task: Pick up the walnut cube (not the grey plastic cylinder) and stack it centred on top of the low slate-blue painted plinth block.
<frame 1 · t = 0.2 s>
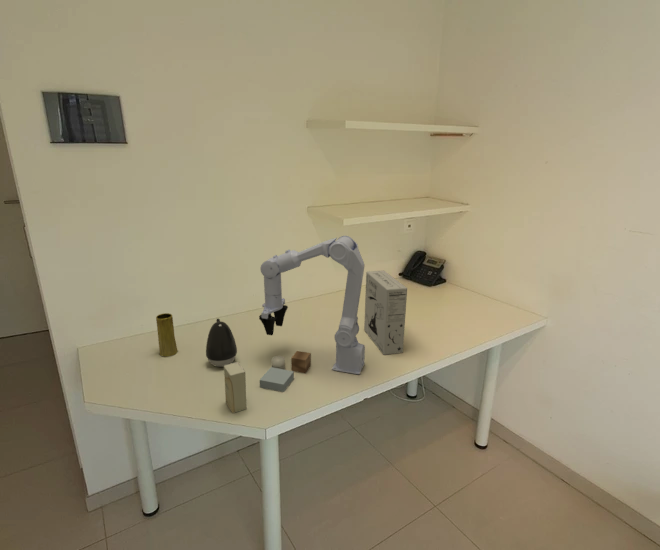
hand: (274, 330, 141), 10 cm above the table, fingers open, 7 cm apart
black egg shape: (222, 363, 139), on the table
skincare box: (236, 406, 116), on the table
grey cylinder: (278, 369, 135), on the table
slate plinth: (277, 383, 128), on the table
product box: (382, 341, 156), on the table
vase: (168, 353, 146), on the table
walnut cube: (301, 368, 136), on the table
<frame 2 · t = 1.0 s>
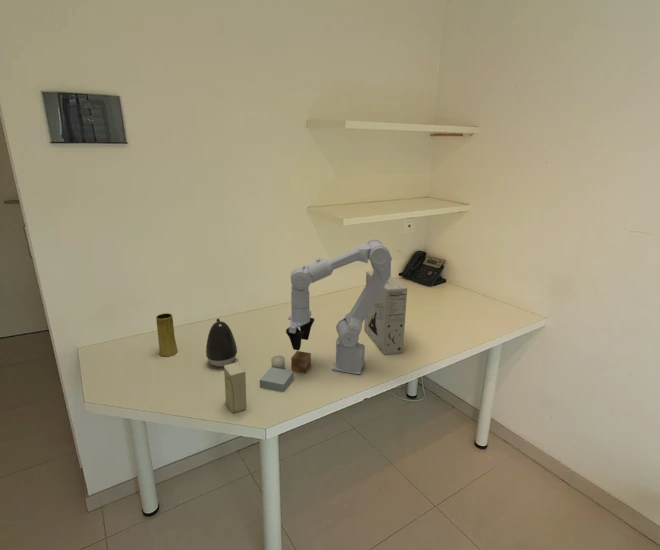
hand: (300, 344, 133), 9 cm above the table, fingers open, 7 cm apart
nothing on the table moved.
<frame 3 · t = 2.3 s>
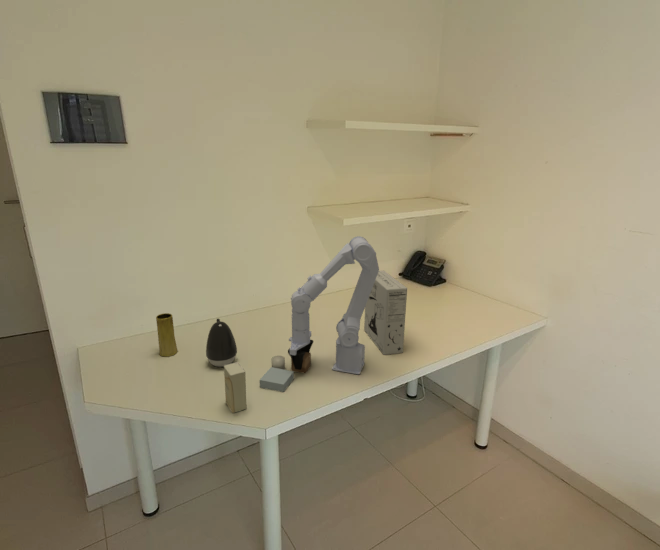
hand: (301, 364, 136), 1 cm above the table, fingers closed on walnut cube, 5 cm apart
walnut cube: (301, 368, 136), on the table, touching gripper
everything else where it was.
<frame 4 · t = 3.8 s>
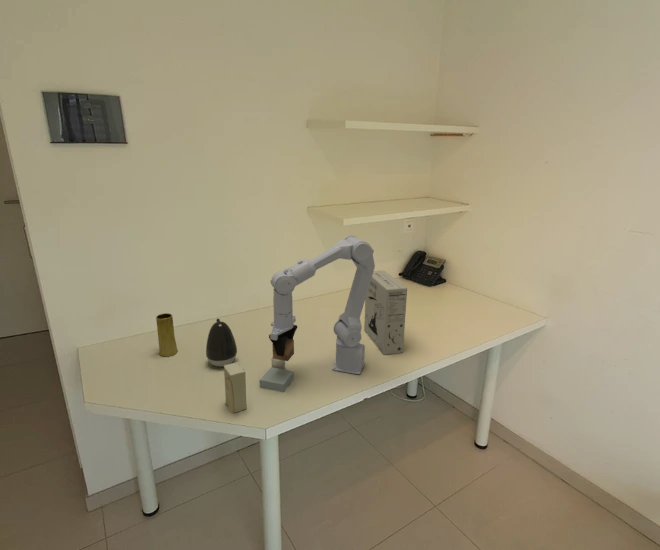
hand: (283, 351, 128), 10 cm above the table, fingers closed on walnut cube, 5 cm apart
walnut cube: (283, 356, 128), point 8 cm above the table, touching gripper
everything else where it was.
when the fingers open (5 cm above the table, at t = 5.3 s): walnut cube drops 1 cm, point 2 cm above the table.
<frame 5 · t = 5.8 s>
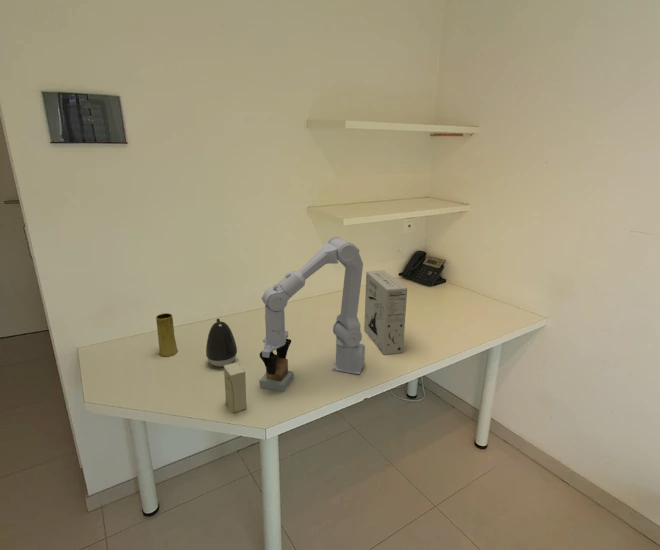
hand: (276, 367, 126), 5 cm above the table, fingers open, 7 cm apart
walnut cube: (277, 375, 127), point 2 cm above the table
everything else where it was.
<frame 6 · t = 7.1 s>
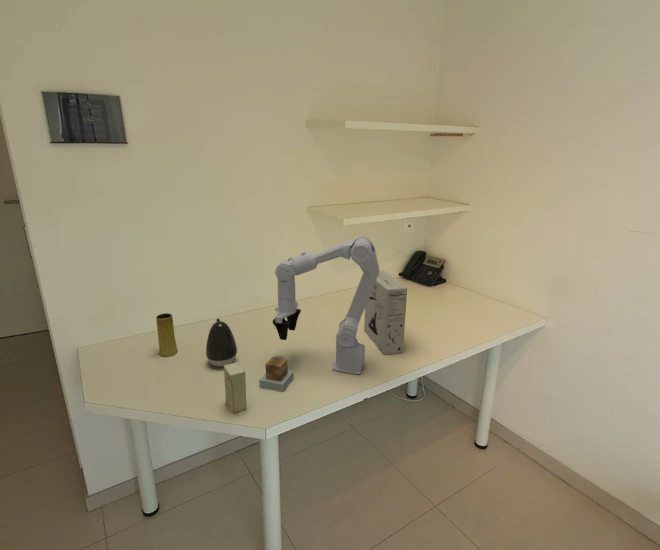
hand: (287, 334, 137), 10 cm above the table, fingers open, 7 cm apart
nothing on the table moved.
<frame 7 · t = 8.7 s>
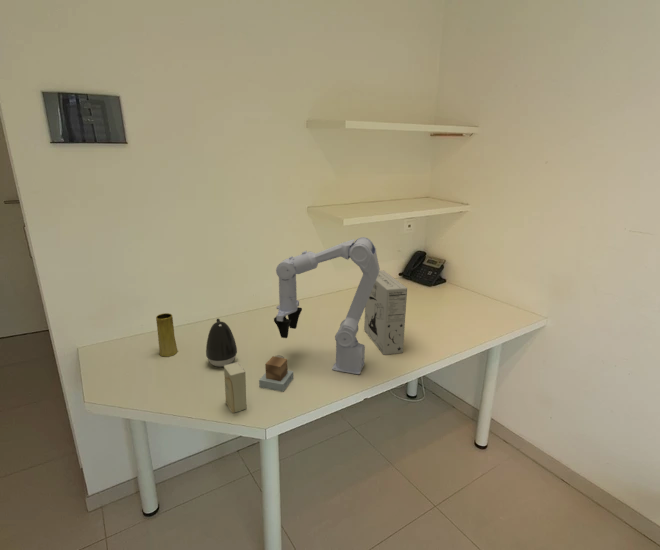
hand: (288, 332, 138), 10 cm above the table, fingers open, 7 cm apart
slate plinth: (276, 383, 128), on the table, touching walnut cube
walnut cube: (276, 375, 127), point 3 cm above the table, touching slate plinth
everything else where it was.
at the end: walnut cube 0.1 cm off-centre on the slate plinth, point 3.0 cm above the slate plinth's base; walnut cube tilted 1°; the gripper is holding nothing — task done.
